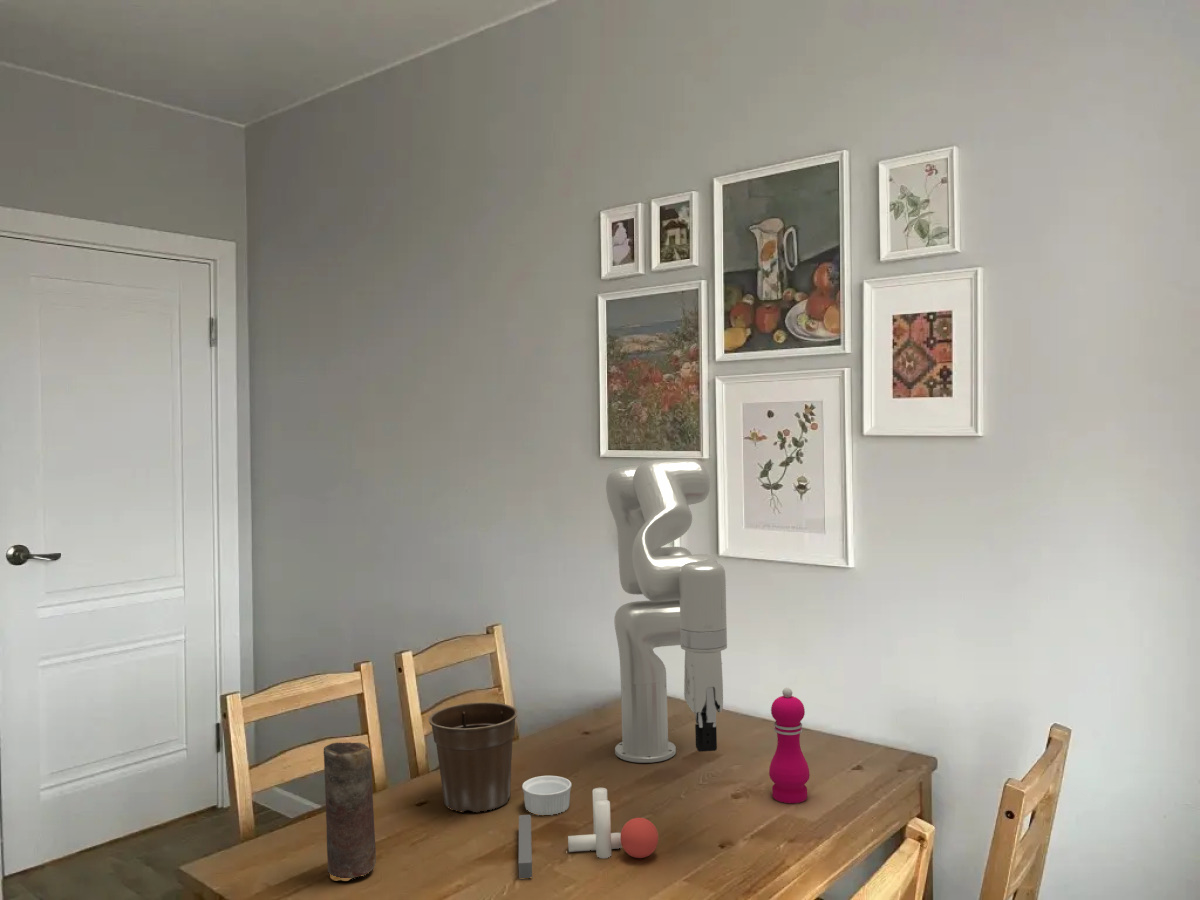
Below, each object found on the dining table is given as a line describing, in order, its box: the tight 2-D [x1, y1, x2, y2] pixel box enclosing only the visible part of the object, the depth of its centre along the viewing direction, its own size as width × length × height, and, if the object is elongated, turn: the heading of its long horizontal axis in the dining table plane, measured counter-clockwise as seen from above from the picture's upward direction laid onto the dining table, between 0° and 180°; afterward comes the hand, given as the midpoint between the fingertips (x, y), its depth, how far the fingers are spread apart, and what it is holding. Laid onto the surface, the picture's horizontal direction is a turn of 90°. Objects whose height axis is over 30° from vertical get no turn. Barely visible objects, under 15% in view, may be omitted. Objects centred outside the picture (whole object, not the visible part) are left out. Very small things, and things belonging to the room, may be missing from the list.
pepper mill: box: [768, 687, 811, 804], centre depth 176 cm, size 7×7×20 cm
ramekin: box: [521, 775, 572, 816], centre depth 175 cm, size 9×9×4 cm
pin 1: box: [592, 787, 608, 834], centre depth 160 cm, size 2×2×8 cm
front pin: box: [567, 832, 623, 853], centre depth 158 cm, size 2×2×8 cm
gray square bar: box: [518, 814, 533, 879], centre depth 157 cm, size 18×2×2 cm, turn 5°
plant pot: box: [428, 701, 518, 813], centre depth 179 cm, size 16×16×16 cm
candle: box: [323, 742, 377, 878], centre depth 151 cm, size 8×7×20 cm
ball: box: [620, 817, 659, 859], centre depth 154 cm, size 6×6×6 cm
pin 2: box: [595, 799, 612, 859], centre depth 155 cm, size 2×2×8 cm
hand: (706, 749), depth 159 cm, fingers closed
